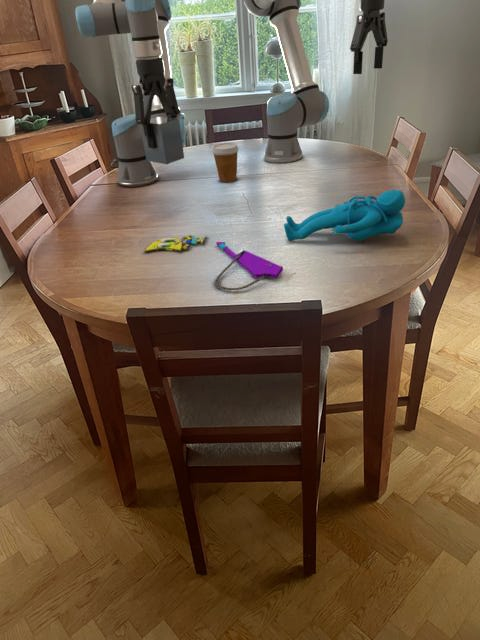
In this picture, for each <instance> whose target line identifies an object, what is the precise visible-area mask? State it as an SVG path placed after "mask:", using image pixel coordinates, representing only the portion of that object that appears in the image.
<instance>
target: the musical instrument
mask: <svg viewBox="0 0 480 640" xmlns="http://www.w3.org/2000/svg"><path fill="white" fill-rule="evenodd" d="M216 246H218V247H219V249H220V250H221V251H223V252H225V254H227V255H228V256H229V257H231V259H233V260H232V261H231V262H230V263H229V264H227V266H225V268H224V269H223V270H222V271H221V272H220V273H219V274H218V275H217V276H216V278H215V280H214V284H215V287H216V288H217V289H222V290H225V291H239V290H243V289H246V288H249V287H251V286H253V285H255V284H256V283H258V282H260V281H261V280H262V279H264V278H272V279H278V278H279V277H280V275H281V274H282V273H283V271H284V266H282V265H280V264H277V263H275V262H273V261H270V260H268V259H265V258H263V257H261V256H259V255H257V254H254V253H252V252H250V251H248V250H244V249H243V250H242V251H240V252H238V253H235V252H234V251H232V250H231V249H230V248H229V247H228V246H227V245H226V242H225V241H216ZM234 263H237V264H239V265H240V266H241V267H242V268H244V269H245V270H246V271H247V272H248V273H249V274H251V275H252V276H253V277H255V280H254V281H251V282H250V283H248V284H246V285H243V286H240V287H226V286H221V285H220V284H219V280H220V278H221V277H222V276H223V275H224V273H226V272H227V270H228V269H229V268H230V267H231V266H233V264H234Z"/></svg>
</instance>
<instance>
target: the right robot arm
mask: <svg viewBox="0 0 480 640" xmlns="http://www.w3.org/2000/svg"><path fill="white" fill-rule="evenodd" d="M243 3H244V6H245V9H246V10H247V11H248V12H249V13H250V14H251V15H253V16H256V17H258V18H262V17H268V20H269V24H270V26H272V27H274V28H275V30H276V34H277V39H278V42H279V46H280V49H281V53H282V56H283V61H284V64H285V68H286V72H287V76H288V79H289V82H290V86H291V92H287V93H281V94H277V95H274V96H272V97H270V98H269V99H268V100H267V101H266V118H267V119H266V121H267V142H266V147H265V150H264V154H263V155H264V157H263V158H264V161H265V162H269V163H273V164H274V163H275V164H285V163H292V162H296V161H299V160H301V159H302V158H303V151H302V148H301V144H300V142H299V139H298V129H299V128H304V127H309V126H315V125H317V124H319V123H321V122H323V121H324V120H326V118H327V116H328V113H329V110H330V100H329V96H328V95H327V94H326V92H324V91H322V90H320V87H319V84H318V83H316V82H315V81H314V79H313V76H312V71H311V68H310V64H309V61H308V57H307V53H306V49H305V45H304V42H303V38H302V34H301V31H300V27H299V22H298V17H299V14H300V9H301V7H302V1H301V0H243ZM384 9H385V0H359V11H360V12H362V14H359V15H356V21H355V22H356V24H355V26H354V31H353V35H352V39H351V43H350V46H349V50H350V52H351V53H352V52H353V71H352V74H353V75H361V74H362V75H363V59H364V58H363V57H364V51H362V49H363V48H364V46H365V43H366V39H367V37H368V34H369V33H370V32H372V35H373V38H374V41H375V44H376V46H375V47H374V58H373V59H374V60H373V63H374V64H373V69H383V61H384V60H383V59H384V47H387V46H388V33H387V26H386V12H381V11H382V10H384Z"/></svg>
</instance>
